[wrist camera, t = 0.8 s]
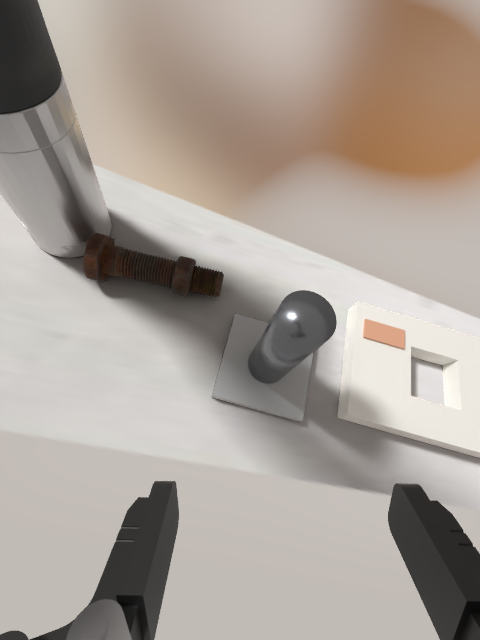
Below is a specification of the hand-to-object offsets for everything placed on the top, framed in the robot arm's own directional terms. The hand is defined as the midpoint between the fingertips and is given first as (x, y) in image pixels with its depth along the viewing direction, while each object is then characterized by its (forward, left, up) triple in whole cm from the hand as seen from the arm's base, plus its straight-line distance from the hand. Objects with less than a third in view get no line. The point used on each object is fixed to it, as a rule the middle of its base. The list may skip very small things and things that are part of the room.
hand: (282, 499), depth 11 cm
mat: (-7, +10, -21) cm, 24 cm away
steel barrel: (-7, +10, -20) cm, 23 cm away
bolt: (-22, +4, -22) cm, 31 cm away
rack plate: (+4, +26, -21) cm, 33 cm away
